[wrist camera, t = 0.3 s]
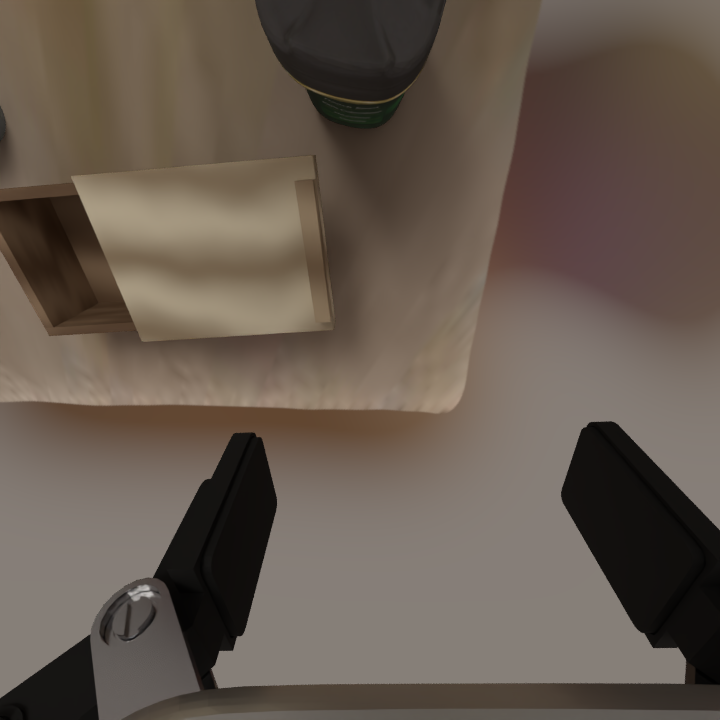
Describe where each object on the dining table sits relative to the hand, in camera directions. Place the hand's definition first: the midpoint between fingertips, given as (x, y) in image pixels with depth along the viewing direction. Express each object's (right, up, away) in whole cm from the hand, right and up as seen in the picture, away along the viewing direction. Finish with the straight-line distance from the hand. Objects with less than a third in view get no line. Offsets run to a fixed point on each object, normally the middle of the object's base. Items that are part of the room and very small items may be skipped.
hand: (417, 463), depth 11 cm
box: (-23, +14, +24) cm, 36 cm away
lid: (-13, +12, +18) cm, 25 cm away
